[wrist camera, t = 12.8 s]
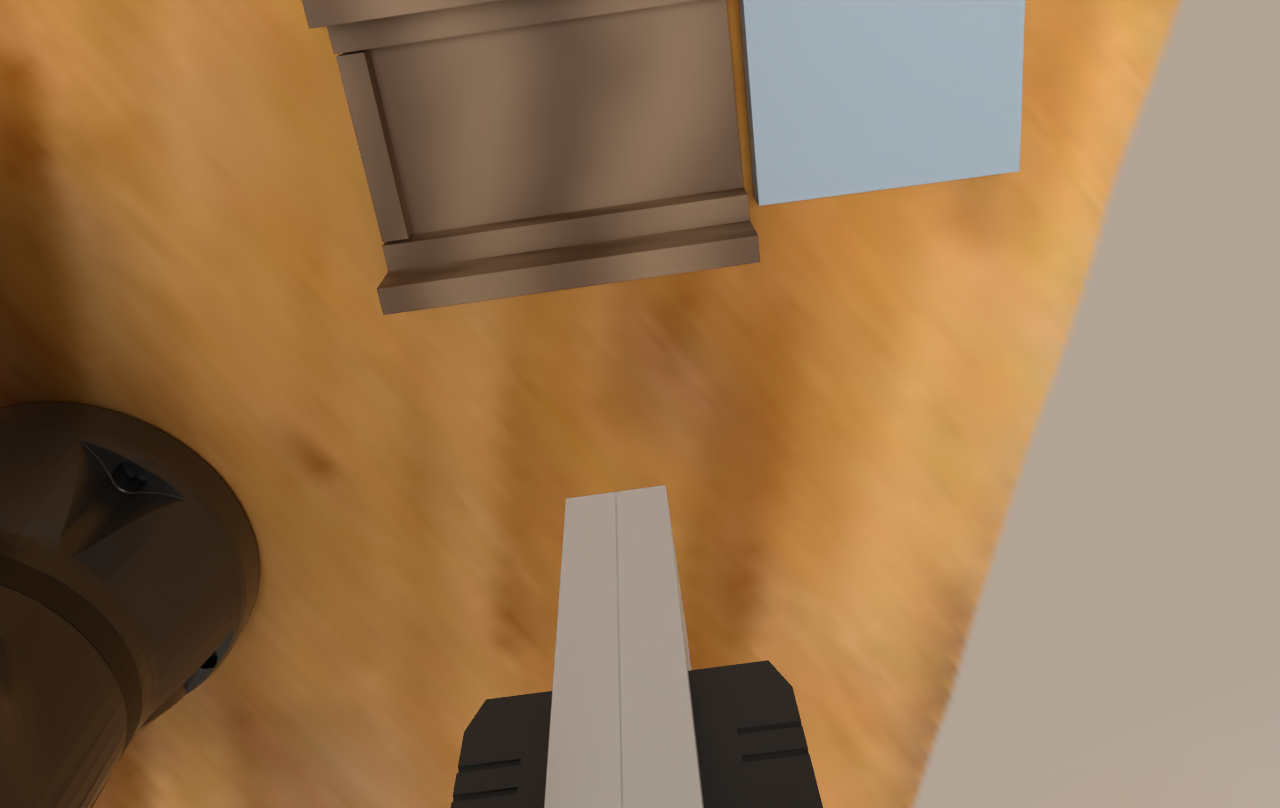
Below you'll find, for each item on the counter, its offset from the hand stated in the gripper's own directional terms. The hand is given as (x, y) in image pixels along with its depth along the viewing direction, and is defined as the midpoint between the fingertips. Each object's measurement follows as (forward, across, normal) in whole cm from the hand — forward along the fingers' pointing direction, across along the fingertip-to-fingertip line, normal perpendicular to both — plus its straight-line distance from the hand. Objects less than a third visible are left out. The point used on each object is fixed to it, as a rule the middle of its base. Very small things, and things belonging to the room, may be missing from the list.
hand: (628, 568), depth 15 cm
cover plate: (+27, +10, +3) cm, 29 cm away
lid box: (+26, -2, +3) cm, 27 cm away
